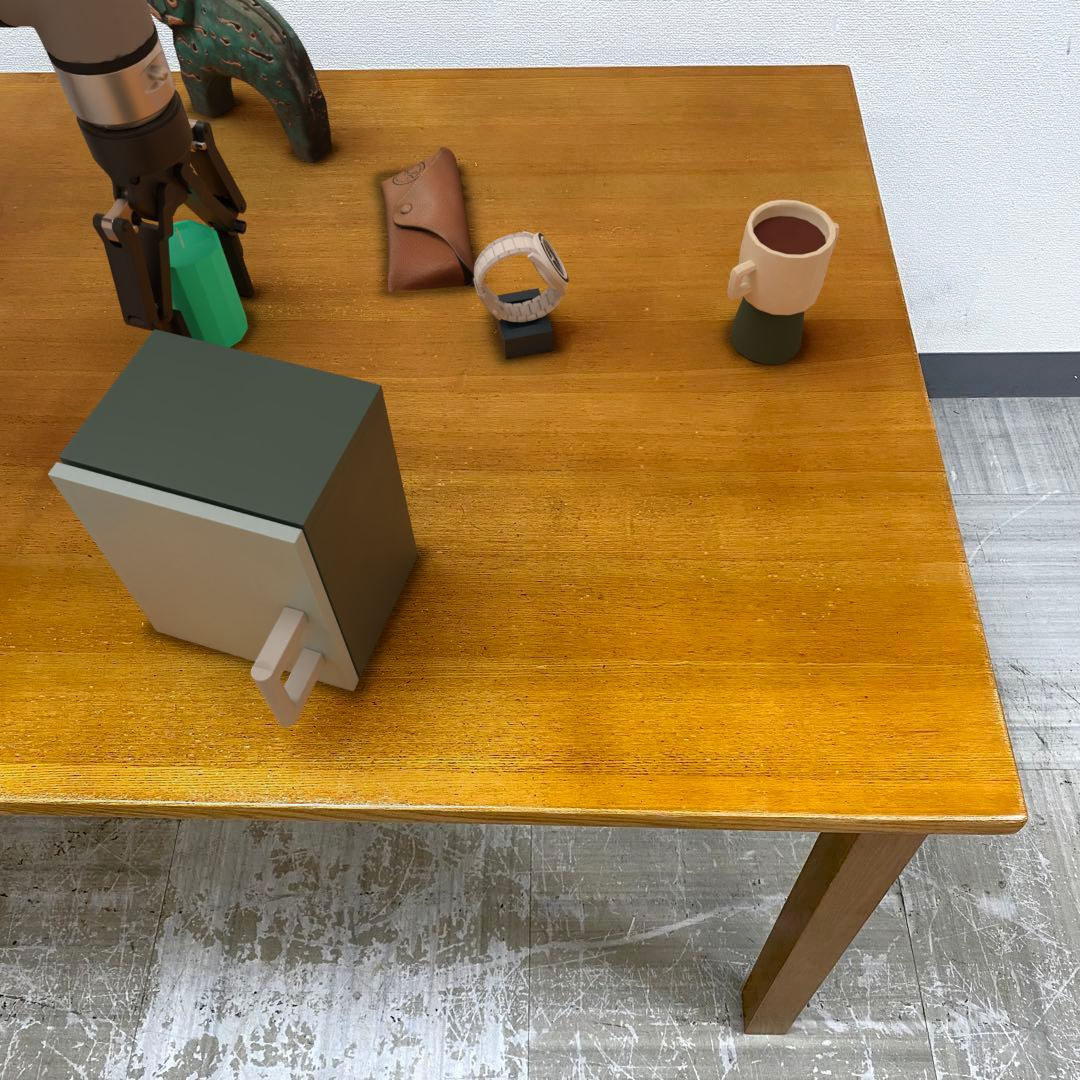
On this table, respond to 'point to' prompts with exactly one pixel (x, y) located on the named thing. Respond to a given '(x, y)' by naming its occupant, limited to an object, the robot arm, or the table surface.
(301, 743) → the table surface
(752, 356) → the character mug
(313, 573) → the cabinet door
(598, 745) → the table surface
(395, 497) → the cabinet
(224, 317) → the candle
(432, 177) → the sunglasses case
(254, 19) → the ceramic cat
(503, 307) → the watch
